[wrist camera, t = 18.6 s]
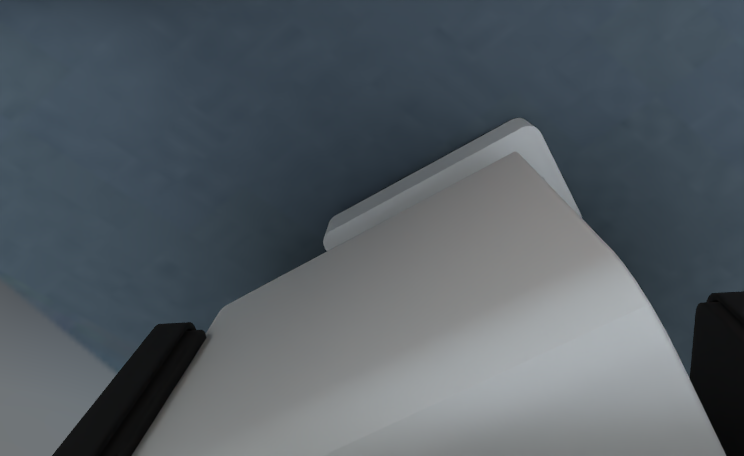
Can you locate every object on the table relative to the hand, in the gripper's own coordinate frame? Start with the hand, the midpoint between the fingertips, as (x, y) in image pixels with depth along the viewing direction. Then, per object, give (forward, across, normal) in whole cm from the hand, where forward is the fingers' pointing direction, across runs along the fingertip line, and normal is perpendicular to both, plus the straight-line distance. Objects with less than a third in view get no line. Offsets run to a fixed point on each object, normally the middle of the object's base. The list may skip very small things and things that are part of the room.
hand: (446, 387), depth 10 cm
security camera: (+6, 0, 0) cm, 6 cm away
